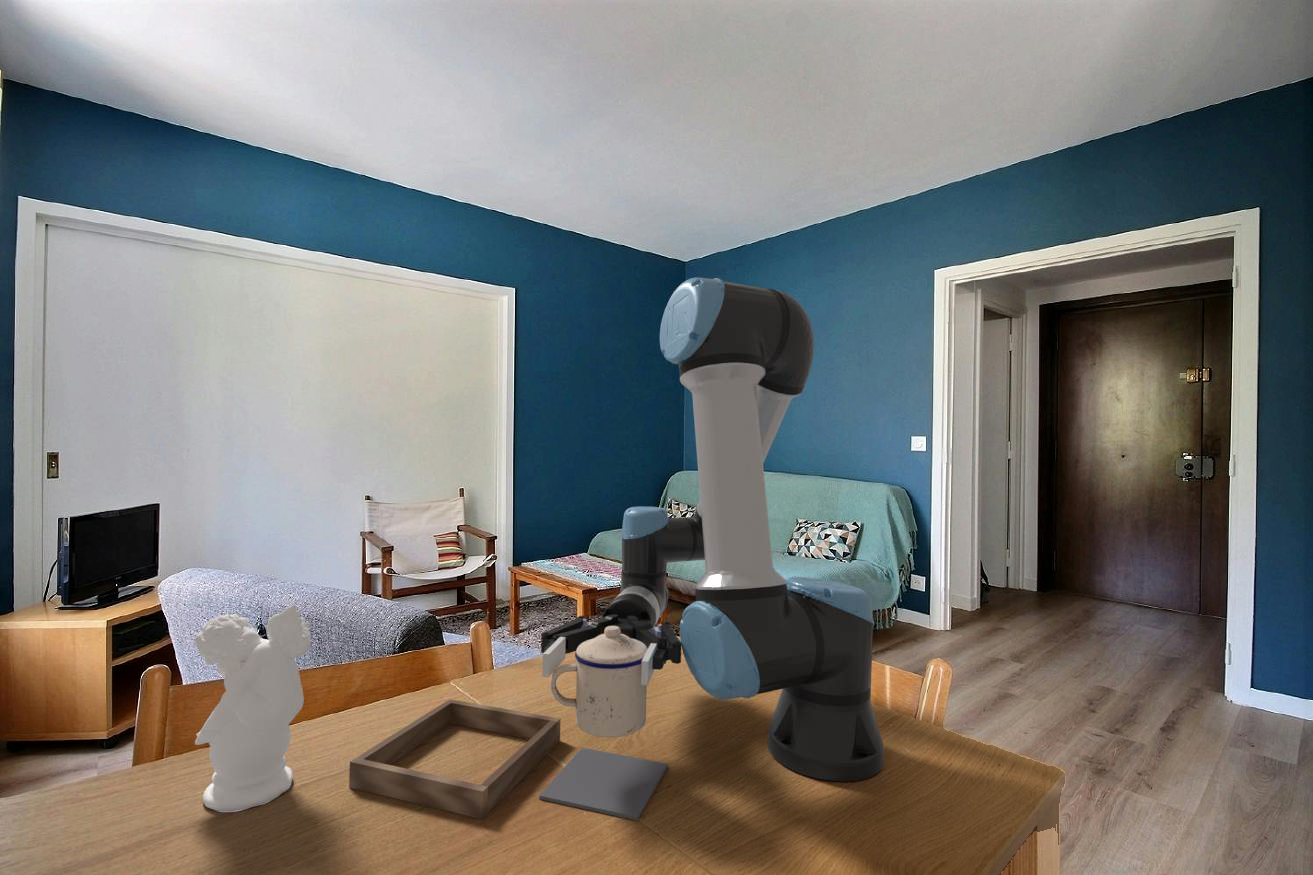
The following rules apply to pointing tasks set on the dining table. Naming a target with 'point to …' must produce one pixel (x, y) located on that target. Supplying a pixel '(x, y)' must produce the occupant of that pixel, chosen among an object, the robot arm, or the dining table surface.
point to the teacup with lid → (607, 685)
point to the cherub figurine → (252, 707)
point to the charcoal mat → (606, 783)
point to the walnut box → (448, 793)
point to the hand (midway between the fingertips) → (594, 669)
